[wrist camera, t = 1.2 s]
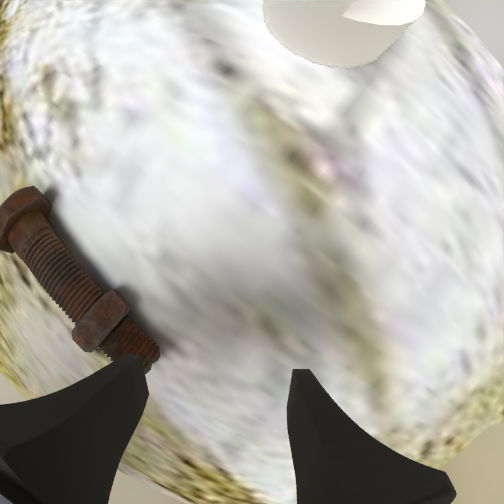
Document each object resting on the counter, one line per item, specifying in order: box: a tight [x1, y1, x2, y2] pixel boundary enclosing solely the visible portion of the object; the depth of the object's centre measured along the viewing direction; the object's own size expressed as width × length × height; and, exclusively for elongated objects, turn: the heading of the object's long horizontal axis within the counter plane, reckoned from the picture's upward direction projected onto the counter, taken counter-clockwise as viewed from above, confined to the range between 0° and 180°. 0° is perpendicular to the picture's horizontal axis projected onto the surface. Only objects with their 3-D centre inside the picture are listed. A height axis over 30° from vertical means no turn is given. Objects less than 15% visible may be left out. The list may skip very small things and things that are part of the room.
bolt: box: [0, 186, 160, 374], centre depth 16 cm, size 6×5×15 cm
